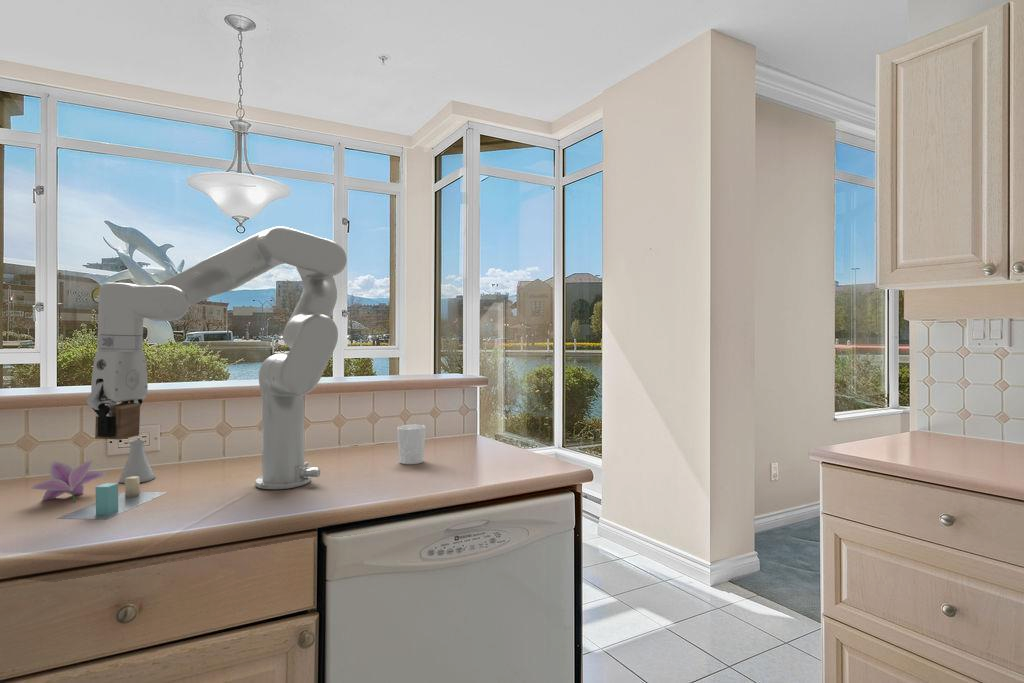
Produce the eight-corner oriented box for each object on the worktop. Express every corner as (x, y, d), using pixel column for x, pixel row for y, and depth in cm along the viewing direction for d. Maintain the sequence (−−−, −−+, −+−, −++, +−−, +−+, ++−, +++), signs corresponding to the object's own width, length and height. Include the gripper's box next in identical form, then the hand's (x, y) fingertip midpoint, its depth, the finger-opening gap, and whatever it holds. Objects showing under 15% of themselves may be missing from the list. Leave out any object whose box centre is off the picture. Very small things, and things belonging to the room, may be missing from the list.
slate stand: (167, 495, 126) (167, 474, 126) (106, 523, 108) (106, 498, 108) (125, 495, 127) (124, 473, 127) (56, 522, 109) (56, 497, 109)
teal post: (118, 510, 114) (118, 483, 114) (108, 514, 111) (108, 486, 111) (105, 510, 114) (105, 483, 114) (95, 514, 111) (95, 486, 111)
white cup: (431, 460, 161) (431, 426, 161) (412, 466, 155) (412, 430, 154) (410, 457, 165) (410, 423, 165) (391, 462, 159) (391, 427, 159)
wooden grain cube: (139, 435, 116) (140, 403, 116) (120, 439, 111) (121, 406, 111) (115, 434, 116) (115, 402, 116) (95, 438, 111) (96, 405, 111)
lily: (116, 499, 128) (104, 460, 130) (100, 492, 117) (87, 450, 119) (52, 523, 122) (41, 482, 124) (30, 518, 112) (17, 473, 114)
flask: (137, 485, 135) (136, 444, 135) (111, 483, 136) (111, 442, 136) (161, 477, 142) (161, 438, 142) (137, 476, 143) (137, 437, 143)
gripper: (105, 345, 105) (102, 442, 105) (166, 344, 122) (163, 428, 122) (67, 343, 105) (64, 440, 105) (133, 343, 122) (130, 427, 122)
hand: (117, 433), depth 114 cm, fingers closed on wooden grain cube, 5 cm apart
